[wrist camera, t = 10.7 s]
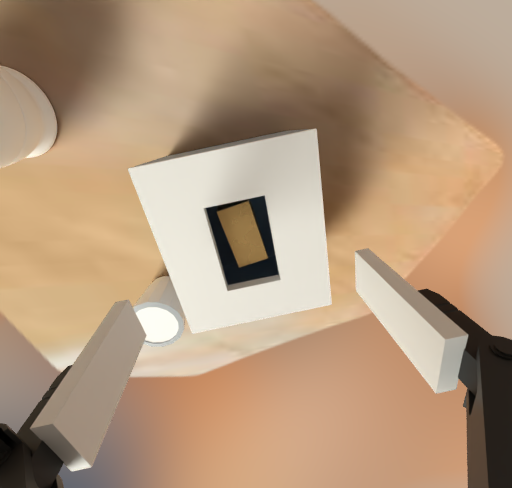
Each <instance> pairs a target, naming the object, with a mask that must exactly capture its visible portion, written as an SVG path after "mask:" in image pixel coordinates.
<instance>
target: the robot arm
mask: <svg viewBox="0 0 512 488" xmlns="http://www.w3.org/2000/svg"><path fill="white" fill-rule="evenodd" d="M355 273H356V291H357V293H358V294H359V295H360V296H361V298H362V299H363V300H364V302H365V303H366V304H367V305H368V307H369V308H370V309H371V311H372V312H373V313H374V314H375V316H376V317H377V318H378V320H379V321H380V322H381V323H382V325H383V326H384V327H385V328H386V330H387V331H388V332H389V334H390V335H391V336H392V338H393V339H394V340H395V341H396V343H397V344H398V345H399V347H400V348H401V349H402V350H403V352H404V353H405V354H406V355H407V357H408V358H409V359H410V361H411V362H412V363H413V364H414V366H415V367H416V368H417V370H418V371H419V372H420V374H421V375H422V376H423V377H424V378H425V380H426V381H427V382H428V384H429V385H430V386H431V388H432V389H433V390H434V391H435V393H441V392H445V391H450V390H455V389H456V388H457V383H458V379H460V380H461V381H462V383H463V384H464V385H465V386H466V387H467V388H468V389H467V392H466V396H465V400H464V404H463V407H465V408H466V409H467V410H466V412H467V465H468V488H512V340H510V339H507V338H504V337H499V336H492V335H490V334H489V333H488V332H486V331H485V330H484V329H483V328H481V327H480V326H479V325H478V324H477V323H475V322H474V321H473V320H471V319H470V318H469V317H468V316H466V315H465V314H464V313H462V312H461V311H460V310H458V309H457V308H456V307H455V306H453V305H452V304H450V302H449V301H447V300H446V299H445V298H444V297H442V296H441V295H440V294H437V293H435V292H433V291H431V290H428V289H424V290H419V291H417V290H416V289H415V288H414V287H412V286H411V285H410V284H409V283H408V282H407V281H405V280H404V279H403V278H402V277H401V276H400V275H398V274H397V273H396V272H395V271H394V270H393V269H391V268H390V267H389V266H388V265H387V264H386V263H384V262H383V261H382V260H381V259H380V258H379V257H378V256H376V255H375V254H374V253H373V252H372V251H371V250H369V249H363V250H358V251H355ZM146 336H147V335H146V333H145V331H144V329H143V327H142V325H141V323H140V321H139V319H138V317H137V315H136V313H135V311H134V309H133V307H132V305H131V303H130V301H129V300H124V301H119V302H115V304H114V305H113V306H112V308H111V309H110V311H109V312H108V314H107V315H106V317H105V318H104V320H103V321H102V323H101V324H100V326H99V327H98V329H97V330H96V332H95V333H94V334H93V336H92V337H91V339H90V340H89V342H88V343H87V345H86V346H85V348H84V349H83V351H82V352H81V354H80V355H79V357H78V358H77V360H76V361H75V362H74V364H73V365H71V366H68V367H67V368H66V369H65V370H64V371H63V372H62V373H61V374H60V375H59V376H58V377H57V378H56V379H55V381H54V382H53V384H52V385H51V386H50V388H49V391H47V392H46V393H45V395H44V396H43V398H42V400H41V401H40V402H39V403H38V405H37V406H36V408H35V409H34V410H33V412H32V413H31V414H30V416H29V417H28V419H27V420H26V422H25V423H24V424H23V426H22V427H21V428H20V430H19V432H18V433H17V434H16V433H15V432H14V431H13V430H12V429H10V427H9V426H7V425H6V424H0V488H64V487H63V482H62V479H61V477H60V476H59V475H58V473H59V471H60V469H61V467H62V465H63V463H64V464H65V465H66V466H67V467H68V468H69V469H70V470H71V471H76V470H81V469H85V468H90V467H92V465H93V463H94V461H95V458H96V456H97V453H98V451H99V449H100V446H101V443H102V441H103V439H104V436H105V434H106V432H107V429H108V427H109V424H110V422H111V420H112V417H113V415H114V412H115V410H116V408H117V405H118V403H119V400H120V398H121V396H122V393H123V391H124V388H125V386H126V384H127V381H128V379H129V376H130V374H131V372H132V369H133V367H134V364H135V362H136V360H137V357H138V355H139V352H140V350H141V348H142V345H143V343H144V340H145V338H146Z"/></svg>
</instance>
